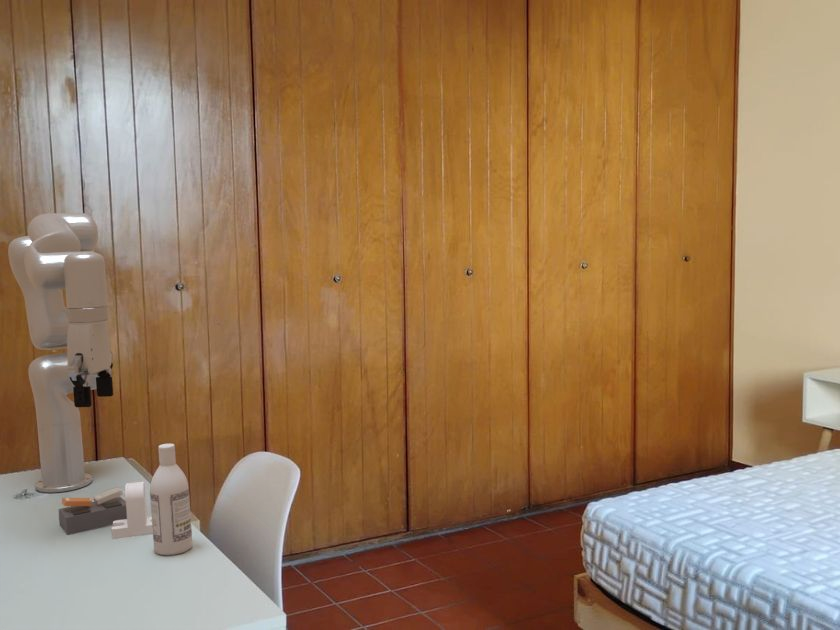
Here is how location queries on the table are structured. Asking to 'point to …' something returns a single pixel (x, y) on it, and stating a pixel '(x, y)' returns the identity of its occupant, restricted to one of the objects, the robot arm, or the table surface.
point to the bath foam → (170, 505)
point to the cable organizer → (133, 514)
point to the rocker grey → (108, 495)
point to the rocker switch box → (92, 515)
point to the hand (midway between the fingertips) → (94, 401)
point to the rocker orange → (76, 502)
